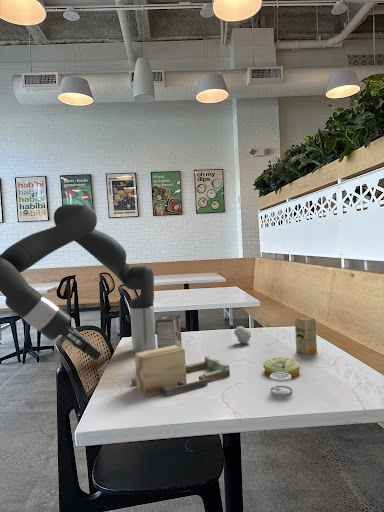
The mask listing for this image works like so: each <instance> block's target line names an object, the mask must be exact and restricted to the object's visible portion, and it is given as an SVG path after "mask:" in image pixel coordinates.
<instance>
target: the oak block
mask: <svg viewBox="0 0 384 512" xmlns="http://www.w3.org/2000/svg"><path fill="white" fill-rule="evenodd" d="M185 351H186V349H184V348H183V347H182V348H180V347H178V346H176V345H173V346H168V347H163V348H158V347H157V348H156V349H153V350H148V351H143V352H138V353H135V352H134V360H135V361H134V362H135V378H136V380H137V385H136V388H138V389H139V390H140V391H141V392H143V393H144V394H145V390H146V389H150V388H154V387H158V386H163V387H164V388H166V389H169V388H173V387H176V386H178V381H182V380H185V381H186V383H187V384H188V382H187V373H186V365H187V364H186V353H185Z"/></svg>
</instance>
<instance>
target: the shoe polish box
mask: <svg viewBox="0 0 384 512" xmlns="http://www.w3.org/2000/svg"><path fill="white" fill-rule="evenodd" d="M316 325H317V324H316V318H313V317H309V316H303V317H296V318H294V330H295V346H296V347H295V349H296V350H295V351H296V353H299V354H302V355H306V356H308V355H312V354H316V353H318V350H317V349H318V348H317V347H318V344H317V328H316V327H317V326H316Z"/></svg>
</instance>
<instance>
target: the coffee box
mask: <svg viewBox="0 0 384 512" xmlns="http://www.w3.org/2000/svg"><path fill="white" fill-rule="evenodd" d="M181 326H182V325H181V315H180V314H166V315H162V316H160V317H159V318H157V319H156V320H155V331H156V342H157V343H156V347H157V349H158V348H163V347H168V346H173V345H176V346H178V347H180V348H182V349H183V345H182V344H183V343H182V331H181V330H182V329H181Z"/></svg>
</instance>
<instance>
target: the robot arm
mask: <svg viewBox="0 0 384 512" xmlns="http://www.w3.org/2000/svg"><path fill="white" fill-rule="evenodd" d="M97 219H98V218H97V214H96V212H95V210H94V209H93V208H92V207H91V206H87V205H83V204H64V205H61V206H59V207H57V208H56V209H55V211H54V213H53V222H54V226H52V227H49V228H46V229H44V230H41V231H37V232H34V233H31V234H29V235H26V236H25V237H23V238H21V239H20V240H18V241H16V242H14V243H13V244H11V245H10V246H9V247H7V248H6V249H5V250H4V251H3V252H2V253H0V292H1V294H2V295H3V296H4V297H5V298H6V299H5V301H4V302H5V305H6V307H8V309H10V310H11V311H12V312H13V313H15V314H17V315H18V316H19V317H20V318H22V319H23V320H24V322H26V323H27V324H28V325H30V327H32V328H34V329H35V330H36V331H38V332H39V333H40V334H42V335H43V336H44V337H46V338H47V339H48V340H50V341H54V340H56V339H57V338H58V337H59V336H61V340H63V342H65V343H66V344H67V345H70V346H72V348H74V349H76V350H80V351H81V352H82V353H83V354H86V355H87V356H89V357H90V358H92V359H93V360H94V361H97V360H98V359H99V358H100V357H101V356H102V353H101V351H99V350H98V349H96V348H94V346H92V345H91V344H92V343H90V342H88V341H86V340H87V339H86V337H84V336H83V335H82V334H81V333H80V332H79V330H78V329H76V328H75V327H74V326H70V327H68V325H69V324H70V323H71V320H72V317H71V315H70V314H69V313H67V312H66V311H64V309H62V308H61V307H59V306H58V305H57V304H56V303H54V302H53V301H52V300H51V299H49V298H47V297H46V296H44V295H43V294H41V293H40V292H39V291H38V290H37V289H36V288H34V287H32V286H31V285H29V283H28V281H27V280H26V278H24V276H23V275H22V274H21V273H22V272H24V271H26V270H29V268H31V267H33V266H34V265H36V264H37V263H38V262H40V261H41V260H42V259H44V258H45V257H47V256H49V255H50V254H52V253H54V252H55V251H57V250H58V249H61V248H63V247H64V246H66V245H69V244H70V243H72V242H75V243H76V244H78V245H79V246H81V247H82V248H83V249H84V250H85V251H86V252H88V253H89V254H90V255H91V256H93V257H94V258H95V259H96V260H97V261H98V262H99V263H100V264H102V265H103V266H104V267H106V268H107V269H108V270H109V271H110V272H112V273H113V274H114V276H115V277H116V278H118V280H119V281H120V282H121V283H122V284H123V285H124V286H125V287H126V288H127V289H129V290H133V291H134V290H135V291H136V290H138V291H139V290H140V295H139V296H137V297H136V298H133V299H131V300H130V301H129V310H130V311H129V312H130V326H131V327H130V328H131V329H130V330H131V342H132V343H131V346H132V352H133V353H134V354H135V353H138V352H143V351H148V350H153V349H157V343H156V342H157V337H156V321H155V311H154V310H155V309H154V306H155V305H154V302H155V301H154V300H155V285H154V284H155V277H154V271H153V269H152V267H151V266H149V265H141V266H140V265H139V266H137V265H136V266H132V265H131V264H128V263H127V252H126V249H125V248H124V247H123V245H121V244H120V243H119V242H118V240H116V238H114V237H112V236H110V235H109V234H107V233H104V232H103V231H100V230H98V229H96V227H97V223H98V220H97Z"/></svg>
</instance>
